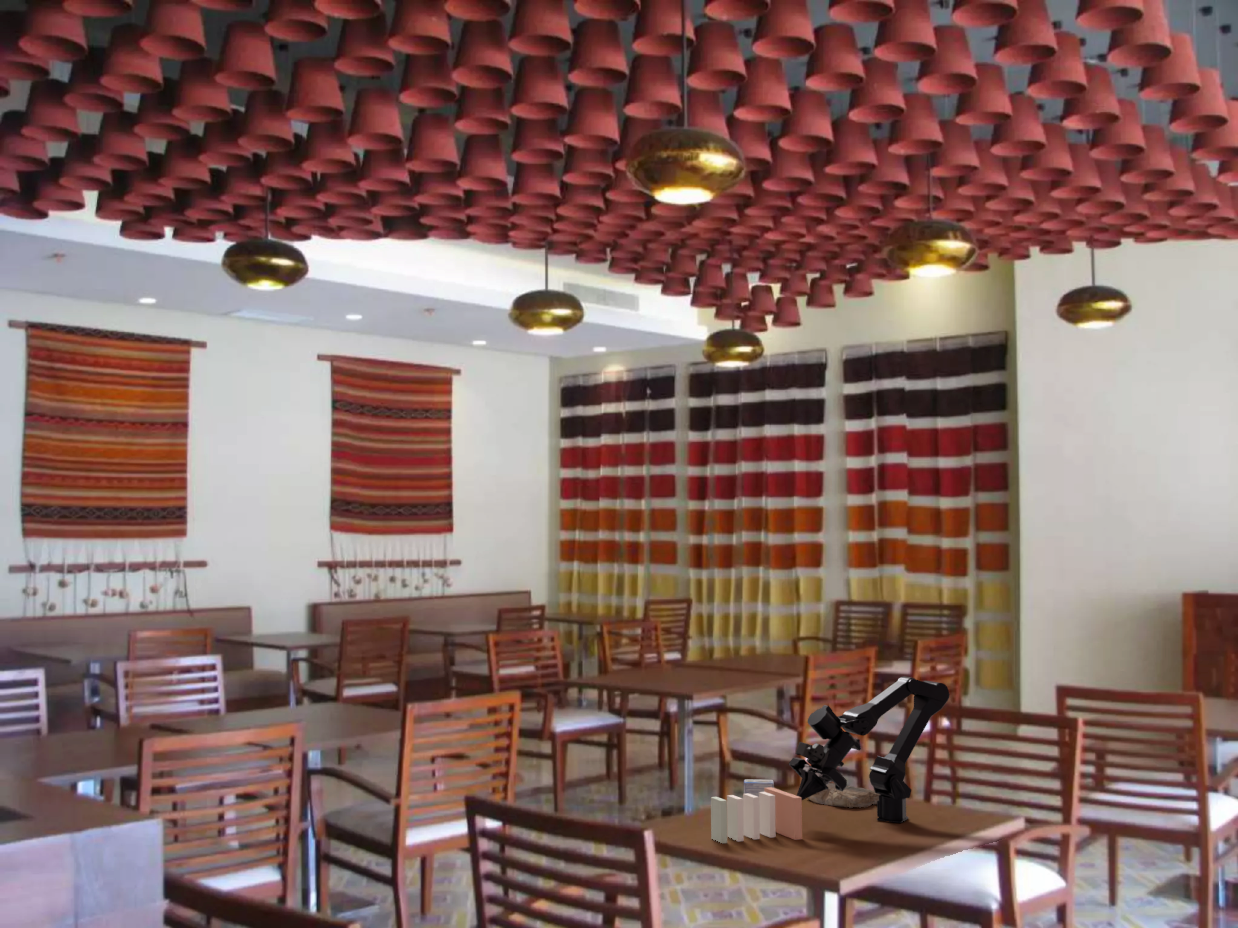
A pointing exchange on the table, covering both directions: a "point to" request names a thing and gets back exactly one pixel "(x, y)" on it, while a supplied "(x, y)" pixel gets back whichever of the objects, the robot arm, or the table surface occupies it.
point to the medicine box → (756, 786)
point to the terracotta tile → (787, 813)
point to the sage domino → (719, 819)
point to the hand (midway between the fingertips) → (797, 799)
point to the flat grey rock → (845, 797)
